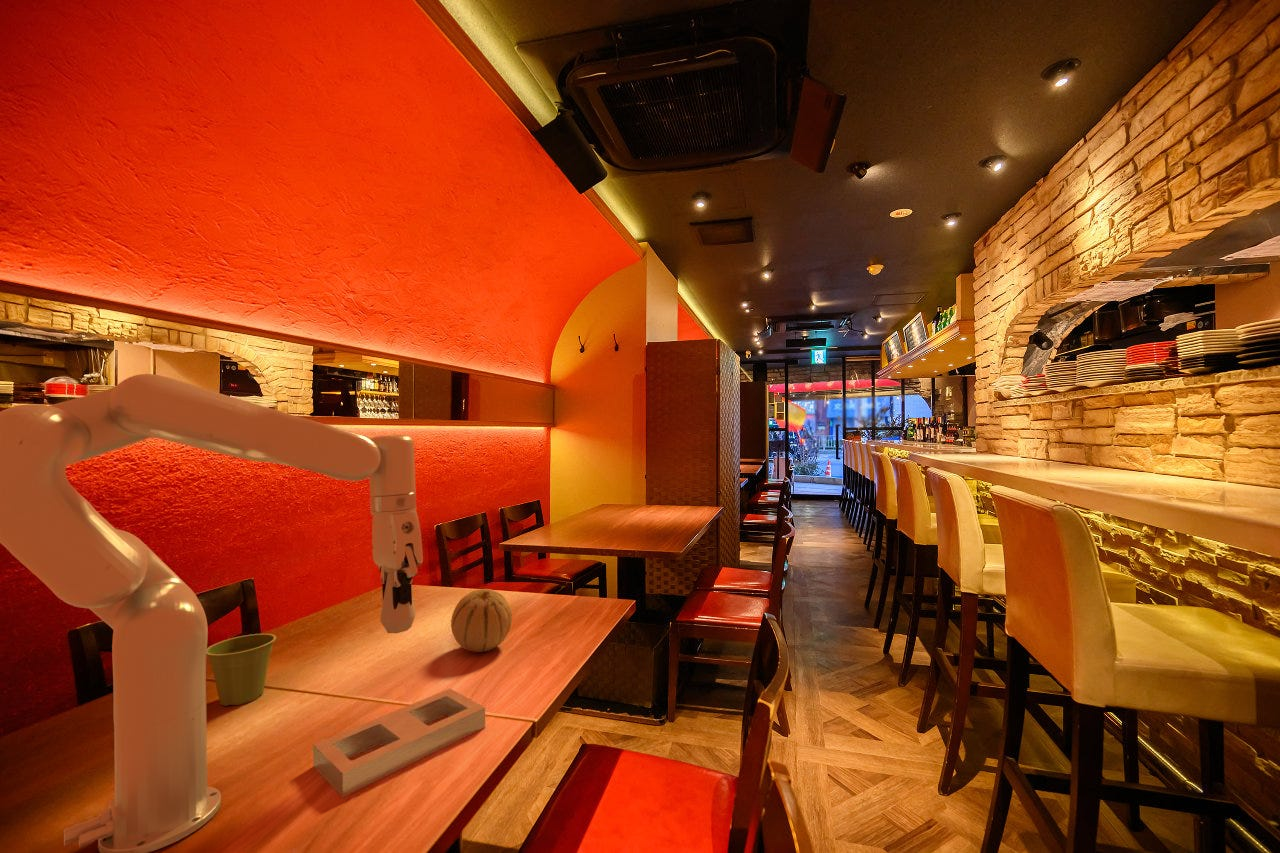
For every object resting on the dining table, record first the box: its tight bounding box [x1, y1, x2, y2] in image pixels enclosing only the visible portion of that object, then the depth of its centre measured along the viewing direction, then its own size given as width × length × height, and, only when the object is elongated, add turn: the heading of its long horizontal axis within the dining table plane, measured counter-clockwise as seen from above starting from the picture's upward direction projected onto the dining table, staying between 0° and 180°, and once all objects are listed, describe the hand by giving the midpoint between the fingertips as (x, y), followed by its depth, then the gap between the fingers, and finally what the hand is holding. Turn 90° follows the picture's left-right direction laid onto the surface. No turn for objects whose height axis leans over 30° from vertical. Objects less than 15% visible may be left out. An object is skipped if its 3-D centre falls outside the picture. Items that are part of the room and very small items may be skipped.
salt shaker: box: [379, 564, 417, 634], centre depth 96 cm, size 6×6×13 cm
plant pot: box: [206, 633, 277, 707], centre depth 110 cm, size 12×12×11 cm
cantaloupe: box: [450, 588, 513, 653], centre depth 133 cm, size 15×15×15 cm
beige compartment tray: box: [312, 688, 486, 798], centre depth 91 cm, size 24×12×4 cm, turn 139°
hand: (397, 604), depth 96 cm, fingers closed on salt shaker, 3 cm apart
